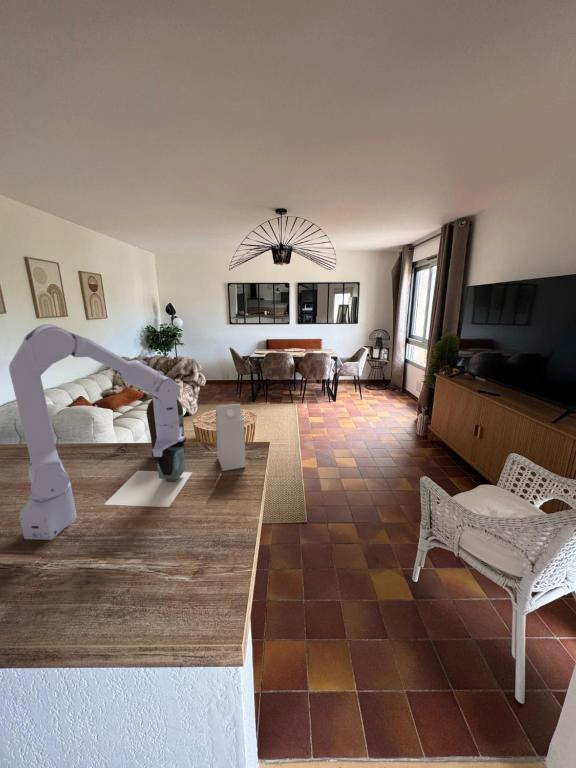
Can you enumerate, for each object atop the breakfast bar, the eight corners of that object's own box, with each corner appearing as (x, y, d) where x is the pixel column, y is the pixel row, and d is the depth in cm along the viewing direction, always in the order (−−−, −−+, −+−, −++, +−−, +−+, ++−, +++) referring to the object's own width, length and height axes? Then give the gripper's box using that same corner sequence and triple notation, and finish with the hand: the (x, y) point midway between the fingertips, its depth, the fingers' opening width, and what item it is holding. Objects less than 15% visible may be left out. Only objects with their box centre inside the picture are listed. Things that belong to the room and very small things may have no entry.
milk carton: (217, 461, 101) (214, 402, 97) (240, 457, 104) (238, 400, 99) (221, 471, 95) (218, 410, 90) (245, 467, 97) (243, 407, 93)
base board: (169, 511, 77) (169, 506, 77) (104, 508, 78) (103, 504, 78) (192, 476, 93) (192, 472, 92) (138, 474, 94) (137, 470, 93)
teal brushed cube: (178, 479, 86) (176, 456, 84) (159, 478, 86) (156, 455, 84) (185, 469, 91) (183, 447, 89) (167, 468, 91) (164, 447, 89)
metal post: (175, 482, 87) (173, 464, 86) (166, 482, 88) (164, 464, 86) (179, 477, 90) (177, 459, 89) (170, 477, 90) (168, 459, 89)
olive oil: (144, 461, 101) (134, 383, 95) (167, 447, 111) (159, 375, 105) (172, 466, 98) (164, 386, 92) (193, 451, 108) (187, 378, 101)
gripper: (170, 433, 77) (175, 484, 81) (191, 412, 91) (195, 456, 95) (141, 432, 78) (148, 483, 81) (167, 412, 92) (171, 456, 95)
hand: (171, 469), depth 88 cm, fingers closed on teal brushed cube, 5 cm apart
